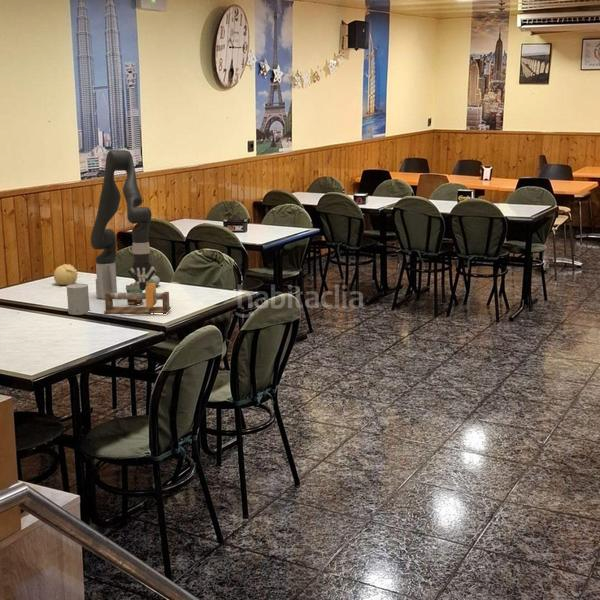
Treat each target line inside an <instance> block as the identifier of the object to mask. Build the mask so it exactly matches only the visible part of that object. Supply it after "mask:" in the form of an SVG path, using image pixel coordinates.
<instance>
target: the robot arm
mask: <svg viewBox="0 0 600 600" xmlns="http://www.w3.org/2000/svg"><path fill="white" fill-rule="evenodd" d="M104 167H105V168H104V176H103V181H102V182H103V183H102V187H101V191H100V197H99V201H98V208H97V212H96V216H95V217H96V218H95V221H94V224H93V227H92V230H91V234H90V245H91V247H92V248H93V249H94V250H103V251H102V252H101V253H100V254H99V255H97V256H95V270H96V273H95V274H96V278H95V291H96V292H95V294H96V299H100V298H101V299H100V300H105V293H107V292H112V293H118V287H117V270H116V268H117V267H116V258H117V238H116V237H117V236H116V234H115V232H114V230H113V229H111V228H106V227H107V225H108V224H109V222H110V221H112V219H113V217H115V215H116V213H117V212H118V210H119V207H120V202H121V198H122V197H121V192H120V190H119V187H118V186H117V183H116V181H115V172H116V171H125V172H126V178H125V181H124V184H123V187H122V193H123V196H124V199H125V203H126V207H127V208H126V209H127V211H126V212H127V213H126V214H127V215H126V218H127V221H128V222H129V223H130V224H133V225H135V224H136V225H137V224H140V226H139V227H137V228H134V229H132V233H131V235H132V236H131V237H132V246H131V247H132V251H131V252H132V266H131V268H129V269H128V270H127V273H128V274H129V275H130V277H132V279H133V280H134V282H135V281H138V282H139V286H140V289H141V290H143V291H145V287H146V281H149V280H150V279H151V277H152V276H153V275H154V273H155V274H156V272H157V269H156V268H154V269H153V268H152V267H153V265H152V263H151V251H150V249H151V247H150V242H149V241H150V240H149V239H150V238H149V229H150V226H151V221H152V210H151V209H150V208H149V207H148V206H141V205H142V203H143V198H142V195H141V192H140V190H139V185H138V183H137V174H136V169H135V164H134V159H133V155H132V153H131V152H130V151H129V150H125V149H123V150H122V149H110V150H109V151H107V153H106V157H105V164H104ZM149 270H151V271H150V273H151V274H150V275H149V276H148V278H146V277H147V273H148V272H149ZM142 277H143V278H142Z"/></svg>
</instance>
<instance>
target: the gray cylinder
mask: <svg viewBox="0 0 600 600" xmlns="http://www.w3.org/2000/svg"><path fill="white" fill-rule="evenodd" d="M65 286H66V297H67V311H68V313H67V314H69V315H73V316H74V315H75V316H79V315H85V314H84V313H87V312H88V311H90V312H91V310H90V296H89V295H90V294H89V284H88V283H74V284H71V285H65ZM87 314H88V313H87Z"/></svg>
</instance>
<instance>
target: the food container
mask: <svg viewBox="0 0 600 600" xmlns="http://www.w3.org/2000/svg"><path fill="white" fill-rule="evenodd" d="M125 291H126V293H144V290H141V289H140V286H139V282H138V281H135V280H134V283H130V284H126V285H125ZM126 300H127V306H128V305H135V306H138V305H137V304H140V305H142V304H143V300H131V299H126ZM141 303H142V304H141Z"/></svg>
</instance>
